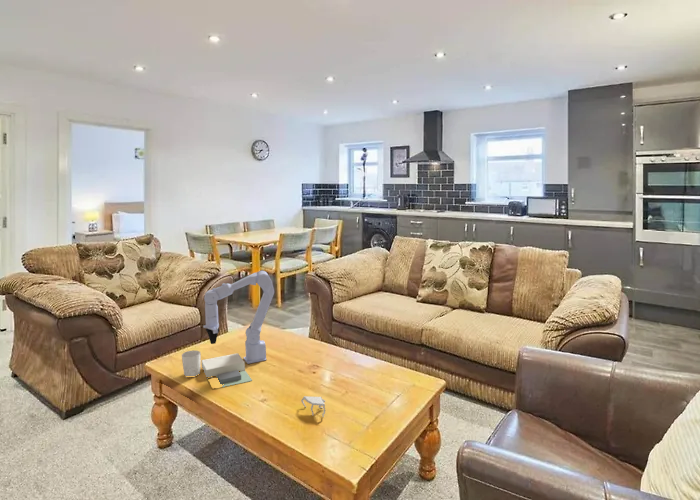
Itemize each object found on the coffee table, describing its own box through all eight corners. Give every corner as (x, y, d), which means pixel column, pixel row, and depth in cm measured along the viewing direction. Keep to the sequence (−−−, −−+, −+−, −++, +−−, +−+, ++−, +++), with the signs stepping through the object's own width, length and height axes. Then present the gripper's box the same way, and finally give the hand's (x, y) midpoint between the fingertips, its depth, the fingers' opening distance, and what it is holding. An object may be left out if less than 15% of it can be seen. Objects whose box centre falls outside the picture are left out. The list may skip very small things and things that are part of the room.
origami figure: (332, 408, 161) (332, 396, 160) (324, 419, 153) (323, 407, 153) (304, 402, 165) (304, 391, 164) (294, 413, 157) (294, 401, 157)
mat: (245, 371, 193) (245, 370, 193) (252, 380, 183) (252, 380, 183) (207, 379, 184) (207, 378, 184) (212, 389, 175) (212, 389, 175)
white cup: (179, 376, 187) (177, 355, 186) (193, 369, 194) (192, 349, 193) (191, 380, 184) (190, 358, 182) (205, 373, 191) (204, 352, 189)
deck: (238, 360, 204) (237, 353, 203) (244, 370, 193) (244, 362, 193) (201, 368, 196) (201, 360, 195) (206, 378, 185) (206, 369, 185)
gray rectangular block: (241, 375, 183) (241, 379, 184) (237, 370, 189) (237, 374, 189) (220, 379, 179) (220, 384, 179) (217, 374, 184) (217, 378, 184)
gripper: (200, 313, 201) (201, 339, 203) (205, 321, 188) (207, 350, 190) (215, 310, 204) (216, 337, 206) (221, 319, 192) (223, 347, 194)
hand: (213, 343), depth 199 cm, fingers closed
